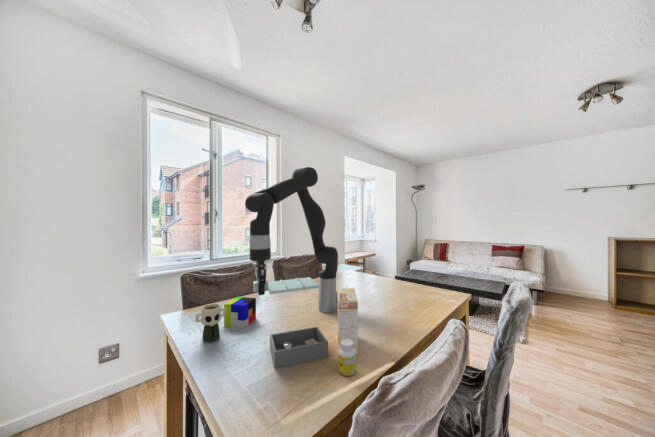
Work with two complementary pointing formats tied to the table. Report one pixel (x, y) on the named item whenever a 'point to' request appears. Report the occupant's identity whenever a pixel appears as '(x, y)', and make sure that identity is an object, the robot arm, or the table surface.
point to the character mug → (210, 320)
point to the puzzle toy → (240, 312)
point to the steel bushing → (287, 345)
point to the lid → (288, 285)
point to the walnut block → (310, 342)
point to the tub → (297, 347)
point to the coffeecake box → (347, 316)
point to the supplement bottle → (347, 358)
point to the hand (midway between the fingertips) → (261, 292)
